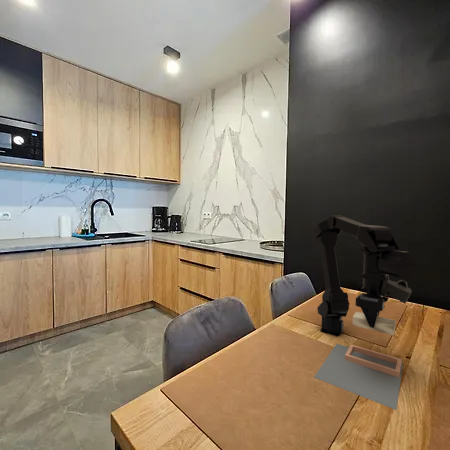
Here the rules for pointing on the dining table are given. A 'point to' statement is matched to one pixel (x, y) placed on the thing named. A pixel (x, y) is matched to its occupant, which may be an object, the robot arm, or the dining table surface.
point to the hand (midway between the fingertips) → (373, 324)
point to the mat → (361, 377)
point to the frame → (370, 364)
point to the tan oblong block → (380, 325)
